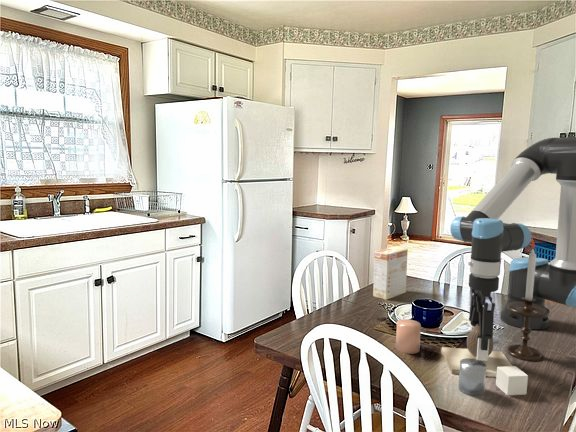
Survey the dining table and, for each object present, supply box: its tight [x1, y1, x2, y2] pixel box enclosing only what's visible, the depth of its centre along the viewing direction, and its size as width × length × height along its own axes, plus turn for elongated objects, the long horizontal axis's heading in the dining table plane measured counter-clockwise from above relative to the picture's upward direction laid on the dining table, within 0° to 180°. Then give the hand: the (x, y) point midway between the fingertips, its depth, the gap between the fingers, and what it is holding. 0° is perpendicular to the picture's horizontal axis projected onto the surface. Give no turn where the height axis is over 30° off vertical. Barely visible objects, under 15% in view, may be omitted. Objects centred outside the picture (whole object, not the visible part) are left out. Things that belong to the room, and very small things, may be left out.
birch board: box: [441, 346, 513, 378], centre depth 123 cm, size 17×14×1 cm
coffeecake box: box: [372, 246, 408, 301], centre depth 184 cm, size 15×7×20 cm, turn 133°
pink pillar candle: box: [395, 318, 422, 355], centre depth 132 cm, size 7×7×8 cm
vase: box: [466, 324, 494, 357], centre depth 122 cm, size 7×7×9 cm
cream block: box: [495, 365, 529, 396], centre depth 109 cm, size 5×5×5 cm
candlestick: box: [506, 237, 550, 362], centre depth 127 cm, size 11×11×35 cm
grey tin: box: [457, 358, 487, 398], centre depth 108 cm, size 6×6×7 cm
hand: (478, 353), depth 122 cm, fingers closed on vase, 7 cm apart
